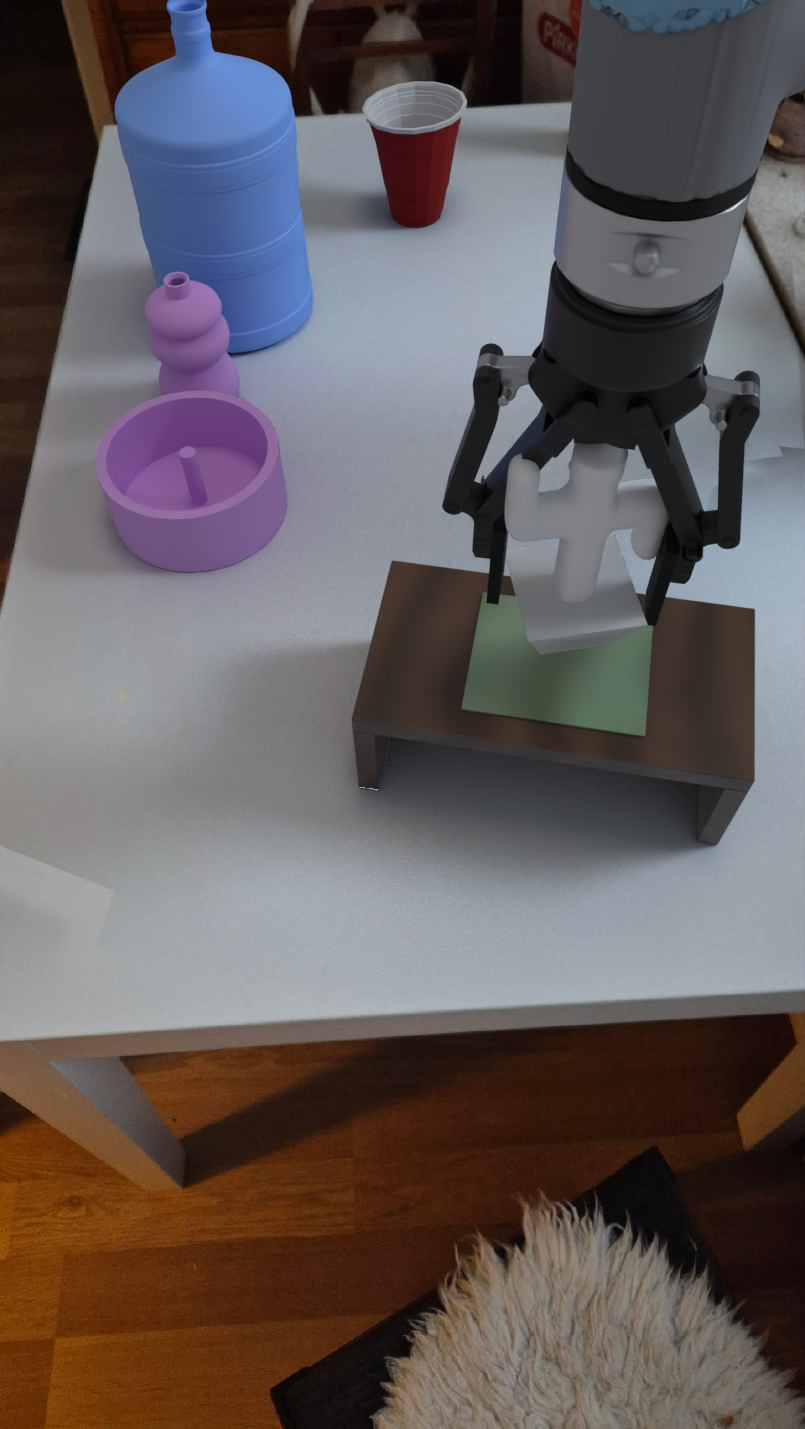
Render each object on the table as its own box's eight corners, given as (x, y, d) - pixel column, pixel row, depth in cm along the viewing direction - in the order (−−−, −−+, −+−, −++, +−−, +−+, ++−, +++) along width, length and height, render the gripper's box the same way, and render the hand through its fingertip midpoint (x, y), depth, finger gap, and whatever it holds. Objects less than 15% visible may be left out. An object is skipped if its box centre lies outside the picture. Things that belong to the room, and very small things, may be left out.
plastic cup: (415, 174, 118) (414, 63, 108) (483, 211, 113) (489, 99, 103) (347, 213, 114) (339, 101, 104) (414, 253, 109) (414, 141, 99)
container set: (289, 564, 86) (269, 447, 75) (109, 578, 85) (62, 462, 74) (282, 372, 99) (265, 248, 88) (127, 382, 99) (89, 259, 88)
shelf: (721, 684, 79) (756, 606, 71) (717, 845, 71) (756, 779, 63) (394, 637, 82) (391, 558, 73) (358, 788, 74) (350, 718, 66)
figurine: (653, 658, 63) (711, 483, 50) (505, 678, 62) (525, 506, 50) (622, 570, 67) (669, 387, 54) (483, 589, 66) (496, 408, 54)
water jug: (274, 372, 99) (229, 65, 76) (135, 336, 102) (50, 31, 79) (338, 281, 107) (315, -23, 83) (206, 250, 110) (149, -51, 87)
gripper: (376, 294, 43) (389, 620, 62) (906, 350, 40) (750, 671, 59) (408, 195, 47) (411, 530, 66) (892, 240, 44) (750, 575, 63)
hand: (572, 597), depth 63 cm, fingers closed on figurine, 9 cm apart
